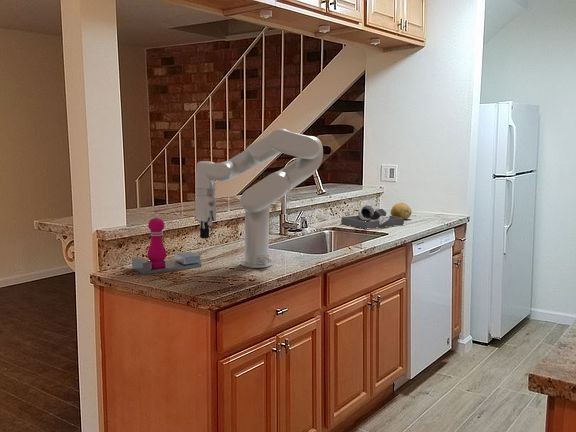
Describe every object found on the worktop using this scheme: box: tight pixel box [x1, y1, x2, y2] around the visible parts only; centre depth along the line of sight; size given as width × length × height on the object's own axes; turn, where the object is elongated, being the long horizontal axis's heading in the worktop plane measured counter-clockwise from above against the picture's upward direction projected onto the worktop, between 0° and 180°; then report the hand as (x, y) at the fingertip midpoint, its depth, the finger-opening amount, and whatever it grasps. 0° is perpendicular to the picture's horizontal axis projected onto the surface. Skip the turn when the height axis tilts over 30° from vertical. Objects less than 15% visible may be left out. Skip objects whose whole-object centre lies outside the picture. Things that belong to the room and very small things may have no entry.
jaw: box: [173, 250, 201, 264], centre depth 234 cm, size 9×7×3 cm
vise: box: [131, 256, 203, 276], centre depth 229 cm, size 11×24×4 cm, turn 126°
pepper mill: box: [146, 213, 167, 268], centre depth 225 cm, size 7×7×20 cm
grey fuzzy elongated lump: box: [357, 205, 391, 225], centre depth 337 cm, size 25×10×10 cm, turn 26°
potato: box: [390, 202, 413, 220], centre depth 360 cm, size 10×12×10 cm
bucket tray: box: [340, 215, 405, 230], centre depth 339 cm, size 21×29×4 cm
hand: (204, 237), depth 238 cm, fingers closed
